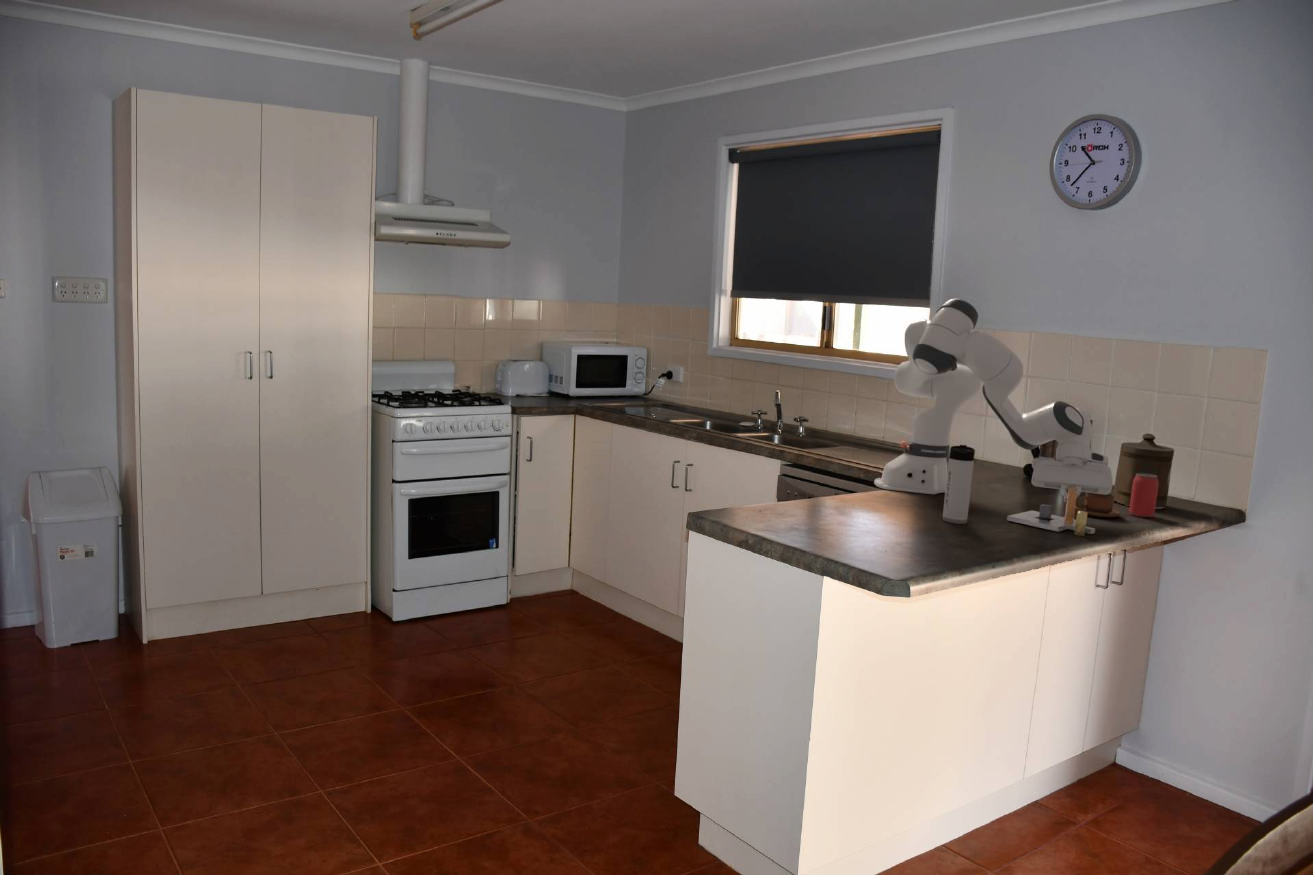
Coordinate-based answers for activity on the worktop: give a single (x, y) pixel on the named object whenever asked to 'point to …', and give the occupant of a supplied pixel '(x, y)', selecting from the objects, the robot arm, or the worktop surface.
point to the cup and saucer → (1098, 505)
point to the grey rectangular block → (1045, 512)
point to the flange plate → (1053, 517)
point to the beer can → (1144, 495)
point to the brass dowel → (1081, 523)
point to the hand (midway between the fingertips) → (1070, 501)
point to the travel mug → (958, 484)
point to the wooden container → (1143, 468)
